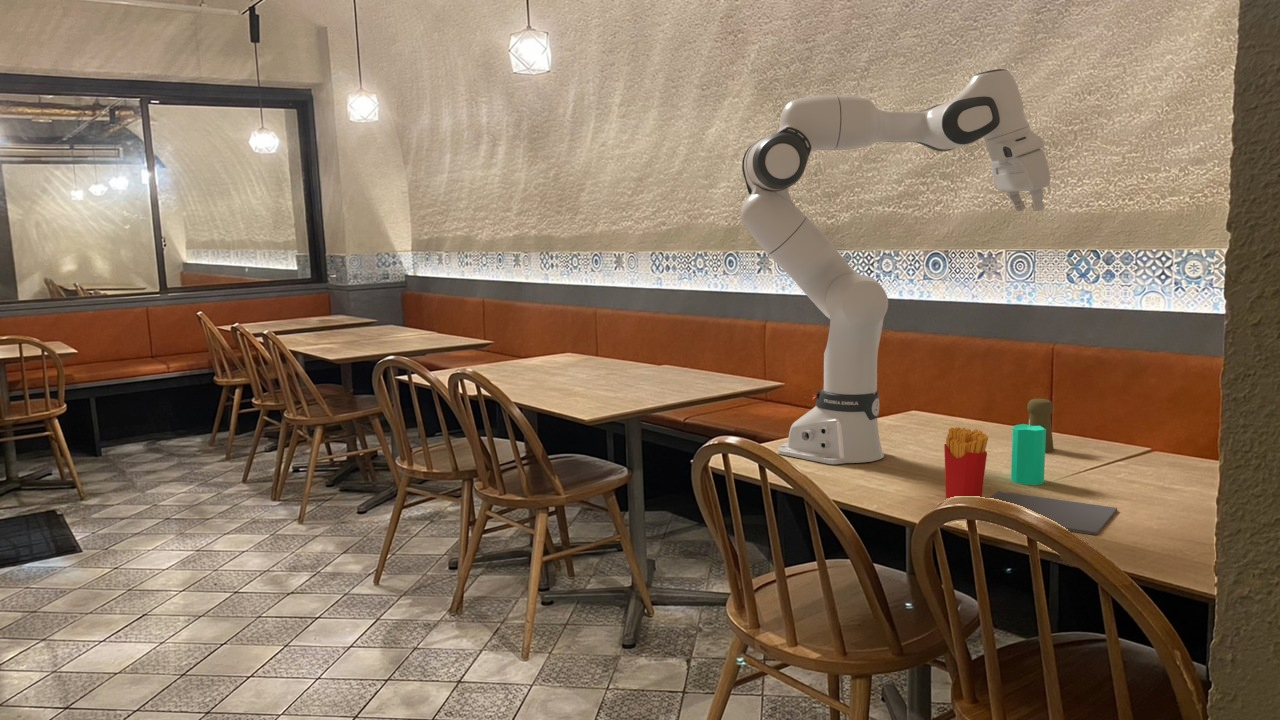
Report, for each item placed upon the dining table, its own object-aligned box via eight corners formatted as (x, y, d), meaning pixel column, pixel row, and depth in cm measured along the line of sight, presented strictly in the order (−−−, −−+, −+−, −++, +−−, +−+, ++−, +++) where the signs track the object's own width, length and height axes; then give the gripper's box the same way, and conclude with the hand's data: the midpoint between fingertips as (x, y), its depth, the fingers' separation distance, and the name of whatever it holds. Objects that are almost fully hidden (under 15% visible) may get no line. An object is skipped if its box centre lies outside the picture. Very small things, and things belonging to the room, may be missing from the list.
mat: (970, 515, 169) (970, 512, 169) (997, 493, 181) (998, 491, 181) (1096, 535, 157) (1096, 532, 157) (1117, 510, 170) (1117, 507, 170)
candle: (1040, 486, 186) (1043, 423, 184) (1007, 482, 189) (1009, 420, 187) (1046, 479, 191) (1049, 418, 189) (1014, 475, 194) (1016, 415, 192)
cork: (1058, 452, 212) (1060, 401, 211) (1029, 452, 212) (1031, 402, 211) (1047, 445, 218) (1049, 396, 217) (1019, 446, 218) (1021, 397, 217)
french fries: (937, 495, 180) (940, 425, 179) (956, 493, 182) (959, 423, 181) (972, 508, 172) (975, 435, 170) (991, 506, 174) (995, 433, 172)
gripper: (978, 154, 215) (996, 215, 217) (1015, 148, 195) (1035, 215, 197) (1006, 144, 215) (1023, 205, 217) (1046, 137, 194) (1065, 204, 196)
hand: (1029, 210), depth 207 cm, fingers open, 8 cm apart
